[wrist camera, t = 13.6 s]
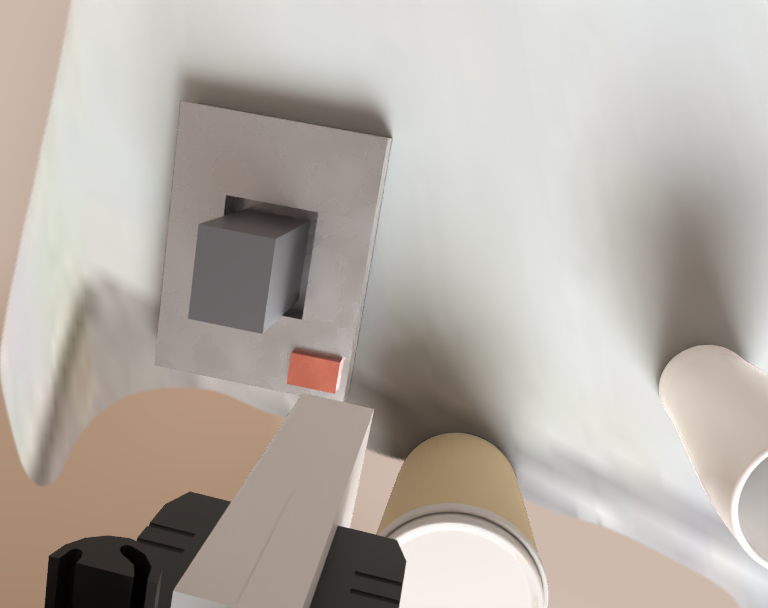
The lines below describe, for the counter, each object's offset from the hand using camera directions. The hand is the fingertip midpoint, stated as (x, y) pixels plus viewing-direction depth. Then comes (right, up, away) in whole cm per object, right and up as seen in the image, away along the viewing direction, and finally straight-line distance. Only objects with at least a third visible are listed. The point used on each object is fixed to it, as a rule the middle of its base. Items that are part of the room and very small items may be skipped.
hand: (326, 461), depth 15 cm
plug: (-6, +6, +30) cm, 31 cm away
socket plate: (-6, +6, +30) cm, 31 cm away
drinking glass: (+20, -2, +29) cm, 35 cm away
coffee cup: (+6, -9, +32) cm, 34 cm away
